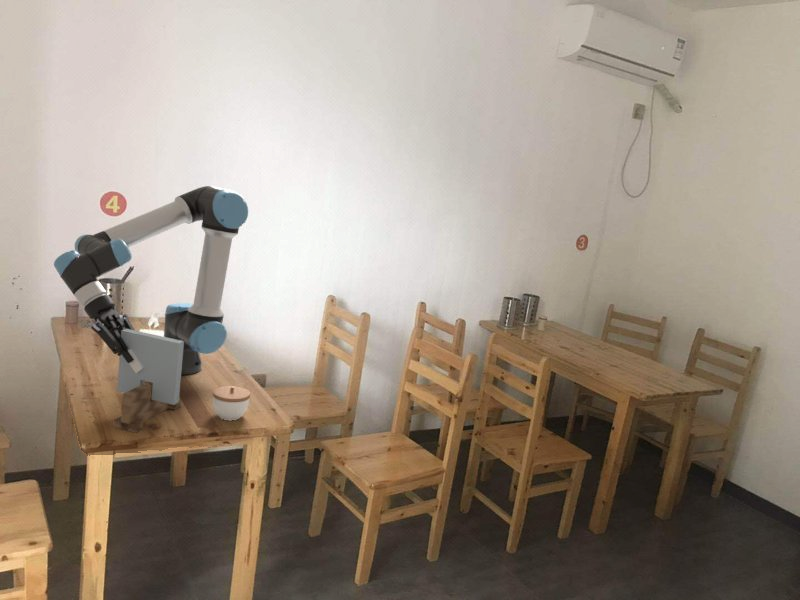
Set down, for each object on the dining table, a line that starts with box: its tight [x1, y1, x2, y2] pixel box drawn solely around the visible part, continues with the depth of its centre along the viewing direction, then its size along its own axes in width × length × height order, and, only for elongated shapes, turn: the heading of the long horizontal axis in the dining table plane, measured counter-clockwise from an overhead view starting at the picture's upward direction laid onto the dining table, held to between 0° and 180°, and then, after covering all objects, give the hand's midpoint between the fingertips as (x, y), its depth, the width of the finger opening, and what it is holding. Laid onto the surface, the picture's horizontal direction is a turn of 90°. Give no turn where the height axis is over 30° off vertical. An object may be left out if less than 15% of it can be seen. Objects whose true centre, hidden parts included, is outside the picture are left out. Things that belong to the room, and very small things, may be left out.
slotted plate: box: [116, 329, 184, 405], centre depth 183 cm, size 18×2×18 cm, turn 77°
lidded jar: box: [212, 385, 251, 422], centre depth 193 cm, size 11×11×9 cm
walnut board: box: [112, 382, 182, 433], centre depth 185 cm, size 22×7×10 cm, turn 167°
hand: (143, 369), depth 184 cm, fingers closed on slotted plate, 2 cm apart
